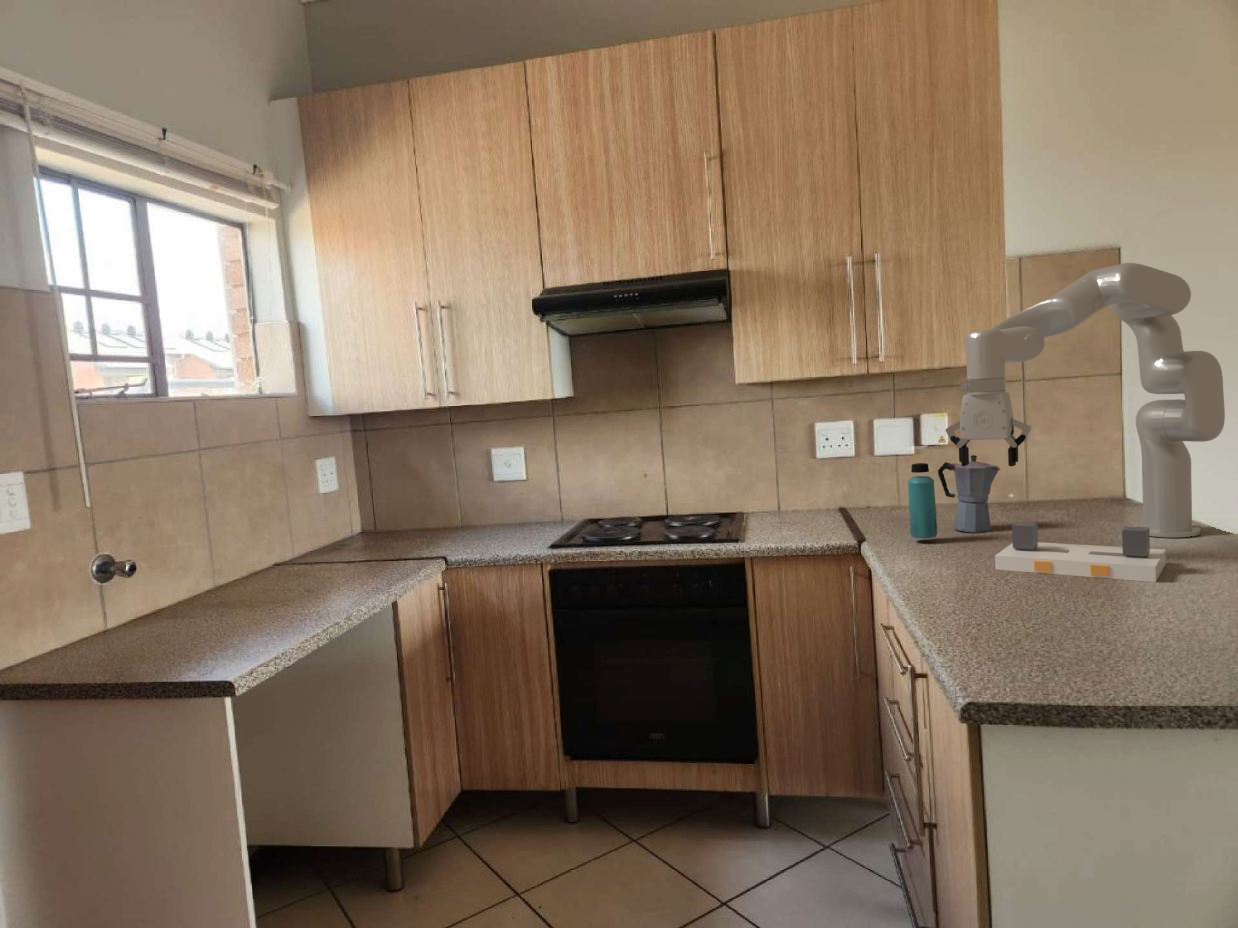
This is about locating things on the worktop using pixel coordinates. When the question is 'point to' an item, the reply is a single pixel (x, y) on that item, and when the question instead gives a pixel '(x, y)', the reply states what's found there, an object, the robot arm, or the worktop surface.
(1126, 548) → the right knob
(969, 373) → the robot arm
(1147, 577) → the switch panel
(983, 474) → the moka pot
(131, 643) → the worktop surface
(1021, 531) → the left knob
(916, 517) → the beverage bottle
